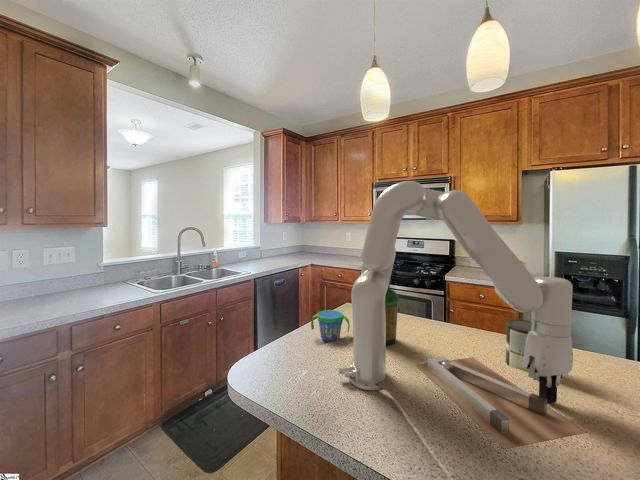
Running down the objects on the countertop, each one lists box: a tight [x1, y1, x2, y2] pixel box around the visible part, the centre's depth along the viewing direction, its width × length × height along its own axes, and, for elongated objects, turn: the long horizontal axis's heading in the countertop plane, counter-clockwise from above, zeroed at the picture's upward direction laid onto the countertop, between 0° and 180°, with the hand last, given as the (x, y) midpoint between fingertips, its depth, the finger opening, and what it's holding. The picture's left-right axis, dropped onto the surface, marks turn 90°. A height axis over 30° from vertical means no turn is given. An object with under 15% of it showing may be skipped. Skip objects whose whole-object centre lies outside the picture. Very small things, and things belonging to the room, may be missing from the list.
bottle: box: [385, 276, 399, 347], centre depth 107 cm, size 11×11×28 cm
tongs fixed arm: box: [427, 356, 509, 434], centre depth 74 cm, size 28×6×3 cm, turn 11°
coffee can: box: [504, 318, 531, 374], centre depth 89 cm, size 10×10×14 cm
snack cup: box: [310, 309, 351, 342], centre depth 114 cm, size 16×10×10 cm
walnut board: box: [415, 357, 588, 450], centre depth 75 cm, size 21×34×2 cm, turn 11°
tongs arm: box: [441, 361, 548, 416], centre depth 75 cm, size 25×4×3 cm, turn 36°
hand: (547, 399), depth 70 cm, fingers closed
